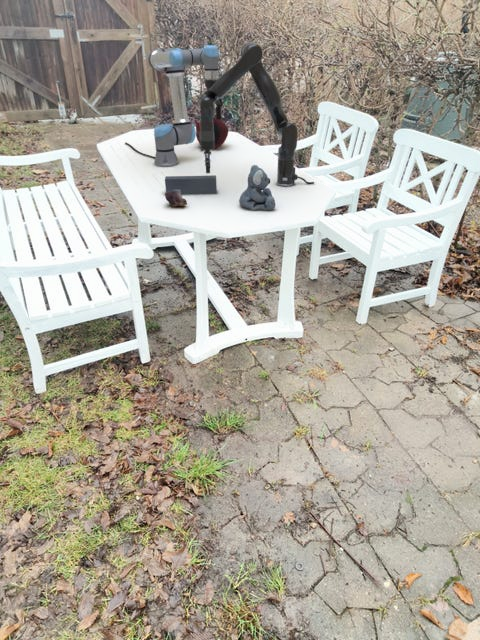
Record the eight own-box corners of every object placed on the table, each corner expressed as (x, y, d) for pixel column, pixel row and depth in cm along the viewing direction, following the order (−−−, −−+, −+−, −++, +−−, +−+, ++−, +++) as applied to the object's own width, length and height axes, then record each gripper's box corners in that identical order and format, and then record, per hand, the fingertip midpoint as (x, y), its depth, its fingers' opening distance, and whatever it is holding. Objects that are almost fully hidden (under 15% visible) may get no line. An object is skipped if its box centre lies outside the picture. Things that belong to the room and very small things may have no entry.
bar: (166, 194, 244) (164, 179, 240) (167, 191, 249) (165, 176, 244) (216, 193, 245) (216, 178, 240) (216, 190, 249) (216, 175, 245)
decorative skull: (193, 122, 333) (191, 119, 309) (224, 115, 332) (225, 111, 308) (200, 152, 340) (198, 151, 316) (231, 145, 339) (231, 144, 315)
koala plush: (276, 211, 223) (277, 171, 212) (240, 212, 222) (240, 172, 211) (271, 199, 237) (272, 161, 226) (237, 200, 236) (237, 162, 225)
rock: (181, 203, 237) (163, 205, 233) (179, 186, 233) (160, 188, 229) (189, 206, 227) (170, 209, 223) (187, 189, 224) (168, 191, 220)
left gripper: (206, 82, 231) (208, 126, 243) (228, 76, 249) (228, 117, 261) (194, 81, 233) (196, 125, 245) (216, 76, 252) (217, 116, 264)
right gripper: (214, 142, 226) (215, 174, 235) (214, 135, 237) (215, 166, 246) (199, 142, 225) (200, 174, 234) (200, 135, 237) (201, 167, 246)
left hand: (213, 121), depth 253 cm, fingers open, 13 cm apart
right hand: (208, 170), depth 240 cm, fingers open, 8 cm apart
